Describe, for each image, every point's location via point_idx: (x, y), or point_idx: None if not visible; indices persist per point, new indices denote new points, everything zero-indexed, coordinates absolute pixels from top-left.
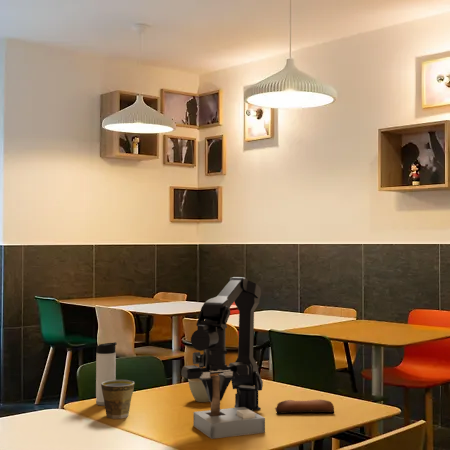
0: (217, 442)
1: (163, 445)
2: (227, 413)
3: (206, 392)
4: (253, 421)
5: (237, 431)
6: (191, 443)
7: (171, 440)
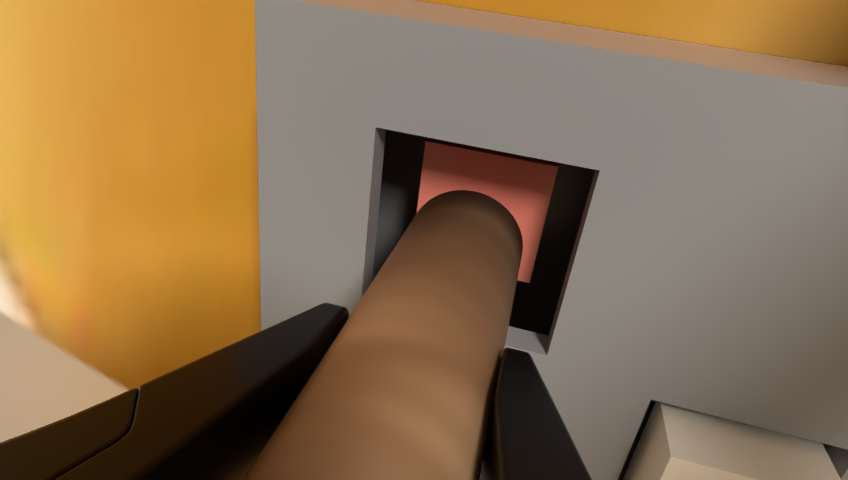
0: None
1: (15, 321)
2: (608, 316)
3: (201, 363)
4: None
5: None
6: None
7: (68, 267)
